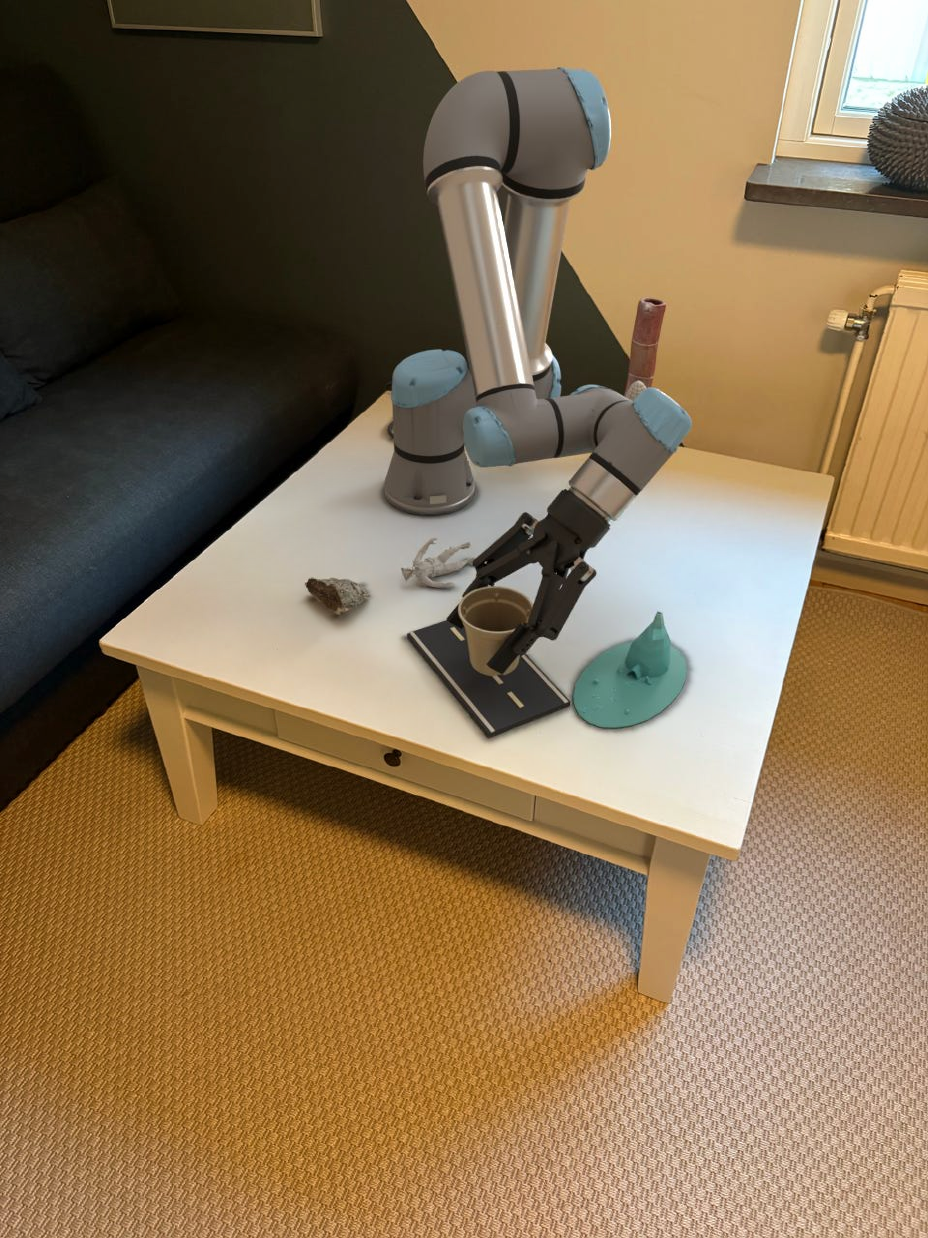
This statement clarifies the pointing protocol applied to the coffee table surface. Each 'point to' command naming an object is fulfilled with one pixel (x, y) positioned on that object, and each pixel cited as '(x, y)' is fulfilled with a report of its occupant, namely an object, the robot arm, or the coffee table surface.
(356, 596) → the rock sample
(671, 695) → the diorama
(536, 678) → the road
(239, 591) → the coffee table surface
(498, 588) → the flower pot
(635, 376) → the vase
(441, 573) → the soldier figure
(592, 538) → the robot arm
